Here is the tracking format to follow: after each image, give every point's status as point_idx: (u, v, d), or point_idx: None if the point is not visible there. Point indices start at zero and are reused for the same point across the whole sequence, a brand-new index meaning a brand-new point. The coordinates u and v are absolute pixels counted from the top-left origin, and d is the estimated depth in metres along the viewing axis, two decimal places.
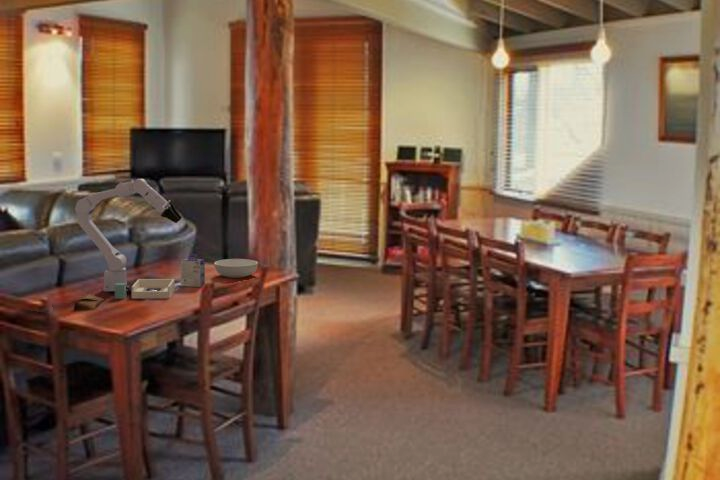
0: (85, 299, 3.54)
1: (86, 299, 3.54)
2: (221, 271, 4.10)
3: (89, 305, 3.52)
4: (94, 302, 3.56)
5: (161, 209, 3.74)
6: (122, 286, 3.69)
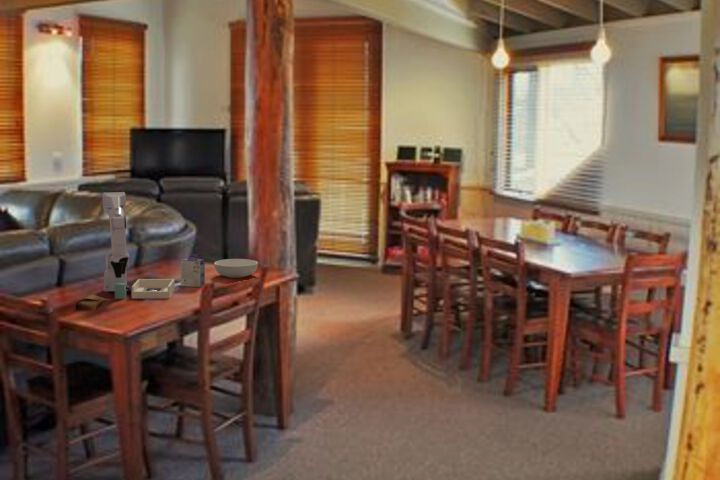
0: (86, 299, 3.54)
1: (87, 299, 3.54)
2: (221, 271, 4.10)
3: (91, 305, 3.52)
4: (95, 302, 3.55)
5: (115, 259, 3.62)
6: (122, 286, 3.69)
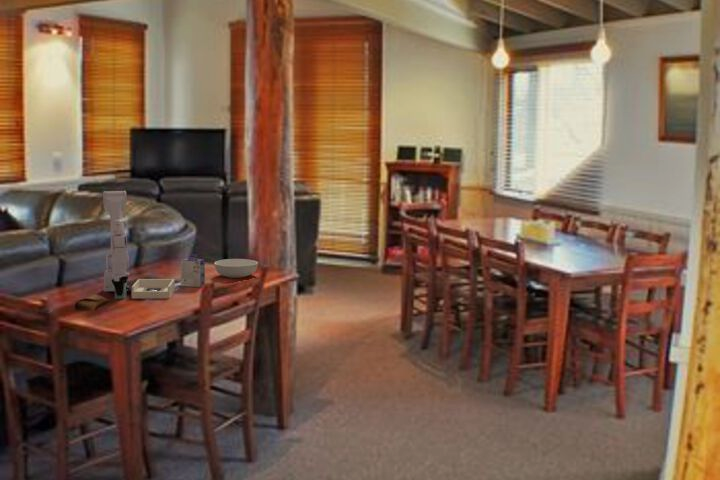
0: (87, 299, 3.54)
1: (88, 299, 3.54)
2: (221, 271, 4.10)
3: (90, 305, 3.51)
4: (96, 302, 3.55)
5: (116, 278, 3.63)
6: None
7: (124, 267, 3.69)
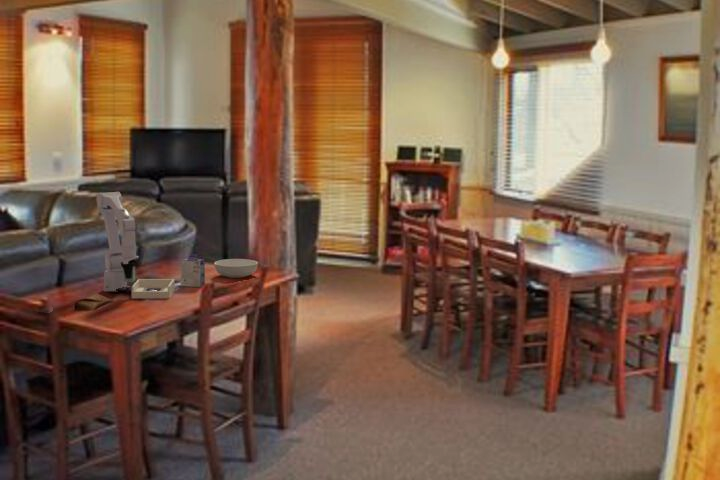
0: (87, 299, 3.54)
1: (88, 299, 3.54)
2: (221, 271, 4.10)
3: (89, 305, 3.51)
4: (96, 303, 3.55)
5: (125, 261, 3.64)
6: None
7: (133, 250, 3.69)
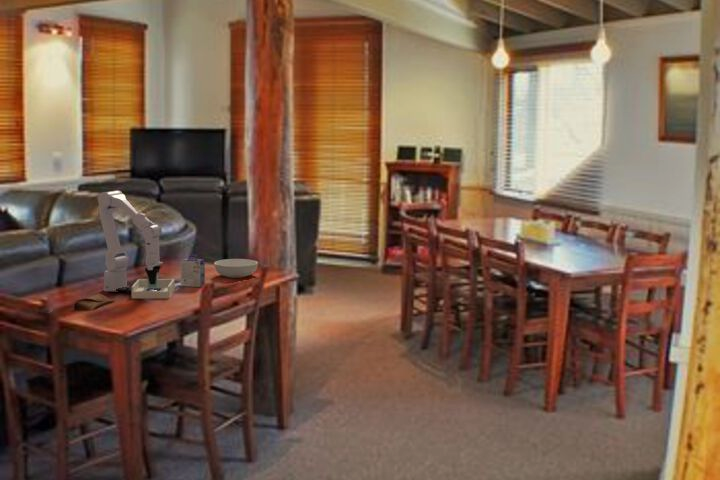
0: (87, 299, 3.54)
1: (88, 299, 3.54)
2: (221, 271, 4.10)
3: (89, 305, 3.51)
4: (96, 303, 3.54)
5: (149, 267, 3.70)
6: None
7: (157, 256, 3.75)
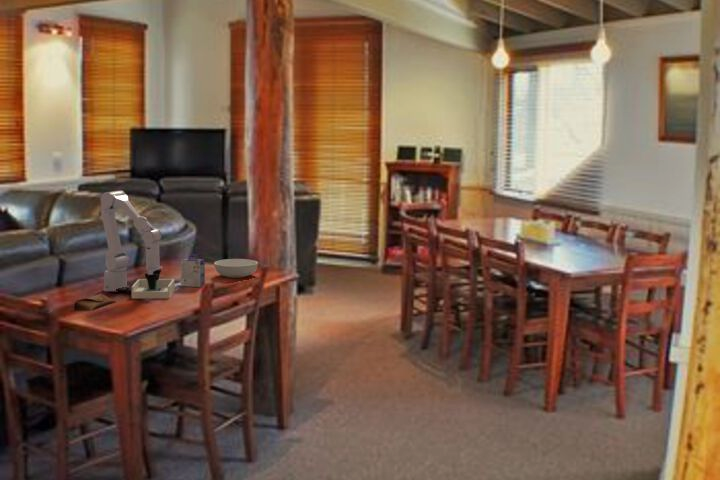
0: (87, 299, 3.54)
1: (89, 299, 3.54)
2: (221, 271, 4.10)
3: (89, 305, 3.51)
4: (96, 303, 3.54)
5: (149, 272, 3.70)
6: None
7: (157, 261, 3.75)
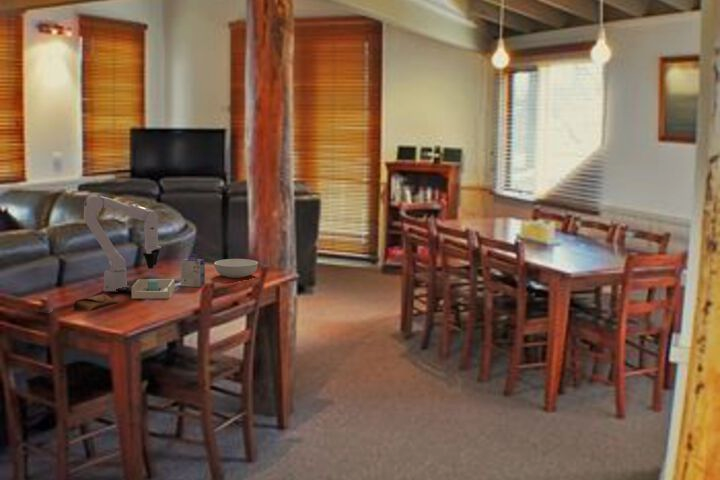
0: (88, 299, 3.54)
1: (89, 299, 3.54)
2: (221, 271, 4.10)
3: (88, 305, 3.51)
4: (96, 303, 3.54)
5: (148, 251, 3.83)
6: (155, 283, 3.76)
7: (156, 241, 3.88)
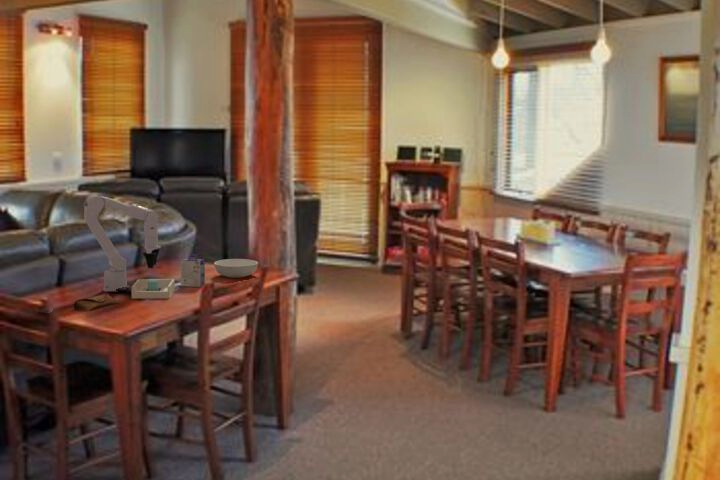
0: (88, 299, 3.54)
1: (89, 299, 3.54)
2: (221, 271, 4.10)
3: (87, 305, 3.50)
4: (96, 303, 3.53)
5: (148, 250, 3.83)
6: (155, 283, 3.76)
7: (155, 240, 3.89)
